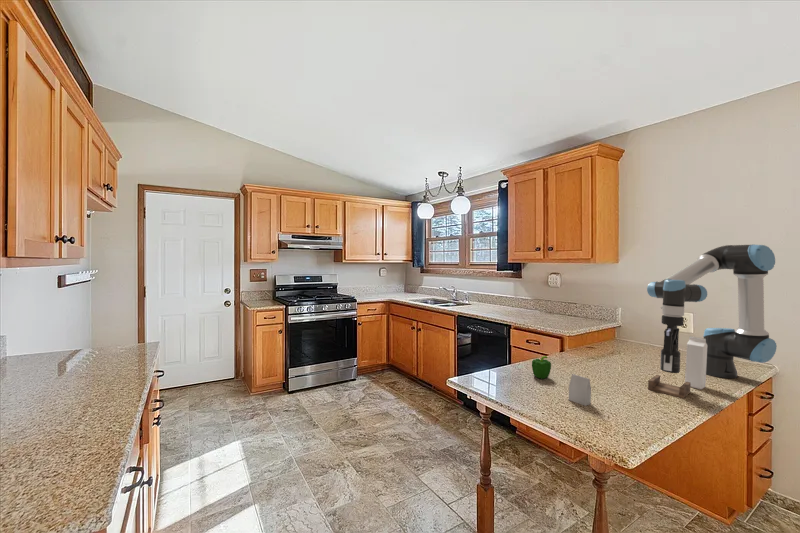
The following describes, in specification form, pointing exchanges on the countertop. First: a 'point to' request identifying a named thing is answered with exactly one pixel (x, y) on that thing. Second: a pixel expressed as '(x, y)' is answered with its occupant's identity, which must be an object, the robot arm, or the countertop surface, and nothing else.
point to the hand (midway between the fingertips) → (669, 368)
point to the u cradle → (668, 387)
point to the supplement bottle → (674, 360)
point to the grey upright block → (580, 390)
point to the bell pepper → (541, 367)
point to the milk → (696, 362)
